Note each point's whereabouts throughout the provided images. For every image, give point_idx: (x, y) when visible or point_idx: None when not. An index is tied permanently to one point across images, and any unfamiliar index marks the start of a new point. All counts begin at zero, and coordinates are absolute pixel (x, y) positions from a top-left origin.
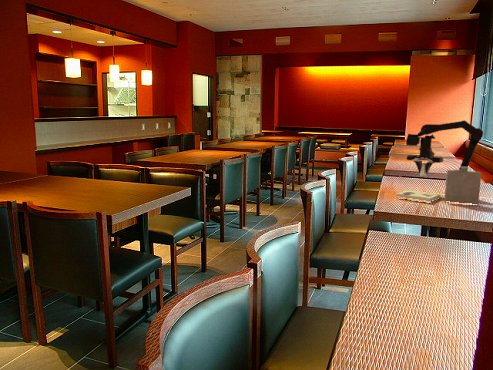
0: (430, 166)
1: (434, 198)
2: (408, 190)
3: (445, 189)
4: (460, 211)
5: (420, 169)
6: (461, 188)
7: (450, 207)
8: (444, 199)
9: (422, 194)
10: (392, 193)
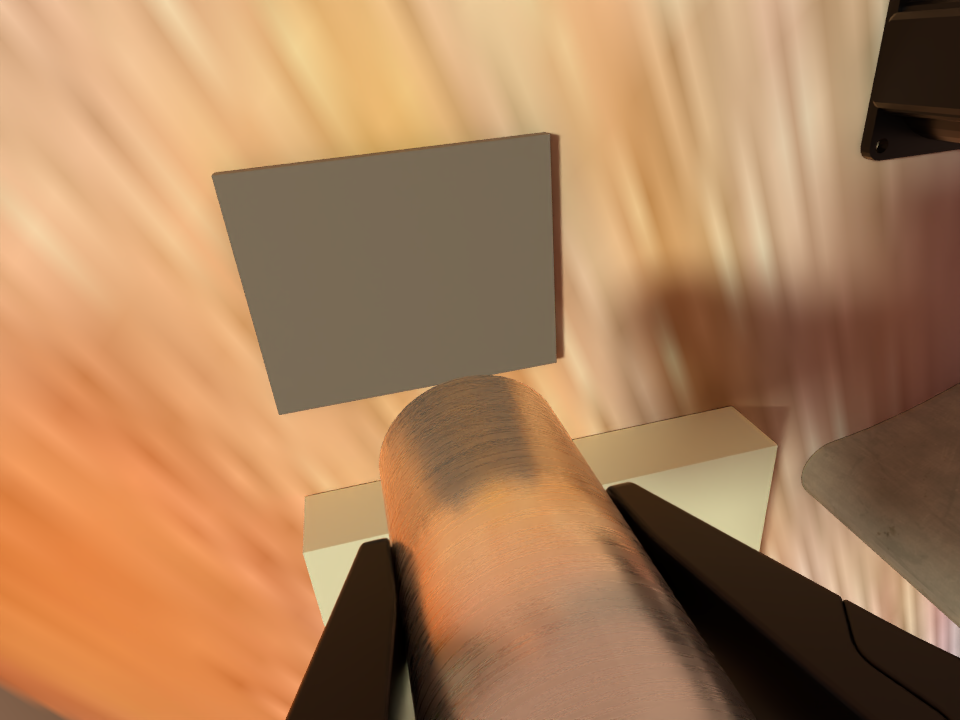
0: (953, 694)
1: None
2: (327, 563)
3: (937, 606)
4: (945, 615)
5: (408, 704)
6: None
7: (873, 579)
8: (830, 510)
9: None
10: (73, 570)
